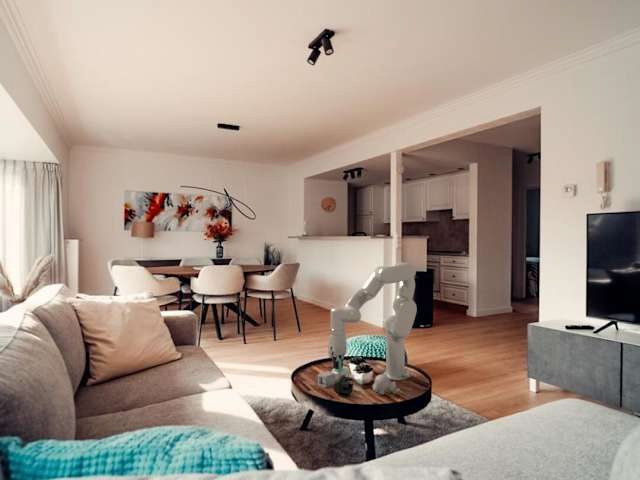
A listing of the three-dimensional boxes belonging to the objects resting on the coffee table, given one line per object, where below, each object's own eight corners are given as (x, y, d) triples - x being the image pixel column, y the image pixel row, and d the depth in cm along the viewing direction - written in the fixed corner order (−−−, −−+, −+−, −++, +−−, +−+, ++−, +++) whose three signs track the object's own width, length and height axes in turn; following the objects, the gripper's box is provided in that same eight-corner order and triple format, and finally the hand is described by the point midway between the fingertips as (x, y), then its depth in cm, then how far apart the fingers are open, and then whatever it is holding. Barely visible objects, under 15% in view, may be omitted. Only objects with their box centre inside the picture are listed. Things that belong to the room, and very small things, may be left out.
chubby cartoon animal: (395, 402, 177) (402, 385, 177) (371, 391, 178) (378, 374, 178) (394, 396, 184) (401, 379, 184) (371, 385, 186) (377, 369, 185)
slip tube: (342, 377, 200) (342, 359, 200) (326, 383, 191) (326, 364, 191) (337, 376, 202) (337, 358, 202) (321, 382, 193) (321, 363, 193)
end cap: (339, 388, 188) (339, 374, 189) (353, 389, 186) (353, 375, 186) (333, 395, 179) (333, 381, 179) (348, 397, 177) (348, 382, 177)
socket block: (349, 378, 201) (349, 367, 201) (342, 381, 197) (342, 370, 197) (339, 375, 206) (339, 364, 206) (331, 378, 201) (331, 367, 201)
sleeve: (334, 383, 194) (334, 373, 194) (325, 387, 189) (325, 376, 189) (327, 381, 197) (327, 370, 197) (317, 384, 192) (317, 374, 192)
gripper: (342, 328, 208) (342, 362, 208) (321, 333, 196) (322, 370, 196) (353, 330, 203) (353, 365, 203) (333, 336, 191) (333, 373, 191)
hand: (338, 367), depth 200 cm, fingers closed on slip tube, 2 cm apart
